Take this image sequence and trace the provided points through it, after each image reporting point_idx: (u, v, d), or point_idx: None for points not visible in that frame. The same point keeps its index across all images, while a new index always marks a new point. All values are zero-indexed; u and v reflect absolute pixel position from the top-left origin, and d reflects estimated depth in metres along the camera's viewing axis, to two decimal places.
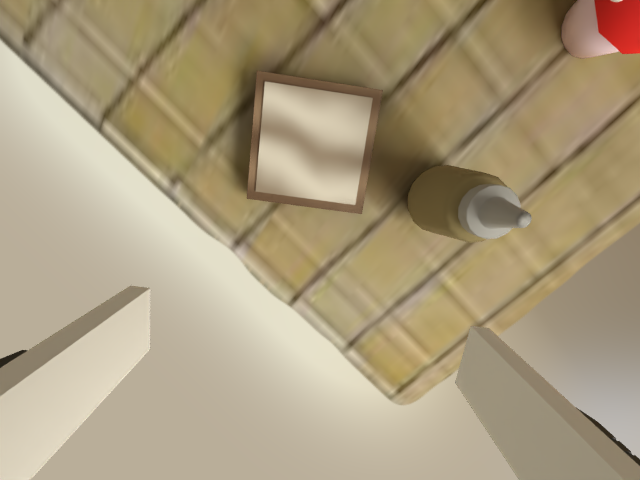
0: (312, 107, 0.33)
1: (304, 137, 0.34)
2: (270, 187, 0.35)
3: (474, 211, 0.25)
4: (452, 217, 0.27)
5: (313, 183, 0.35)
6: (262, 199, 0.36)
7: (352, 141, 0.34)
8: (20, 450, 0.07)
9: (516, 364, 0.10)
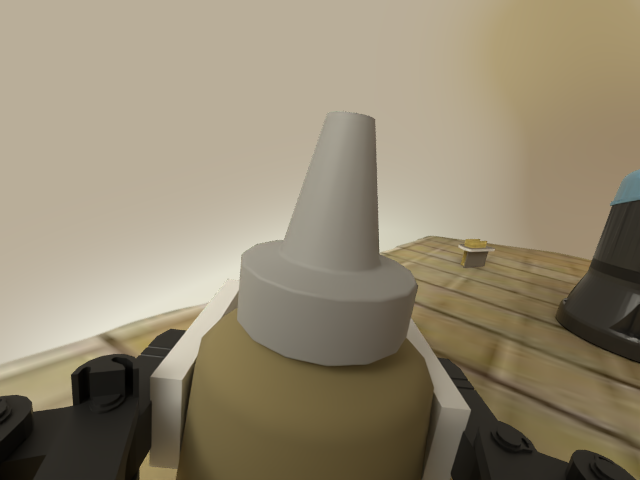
0: None
1: None
2: None
3: None
4: None
5: None
6: None
7: None
8: None
9: None
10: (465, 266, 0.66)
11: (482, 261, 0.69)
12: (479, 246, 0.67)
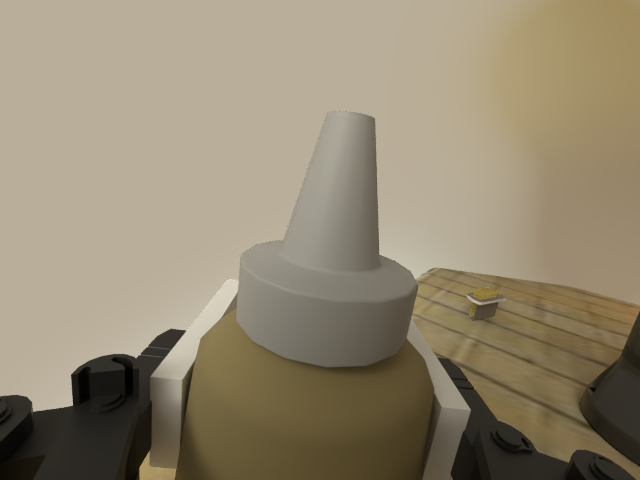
0: None
1: None
2: None
3: None
4: None
5: None
6: None
7: None
8: None
9: None
10: (474, 319, 0.61)
11: (492, 311, 0.64)
12: (489, 296, 0.61)
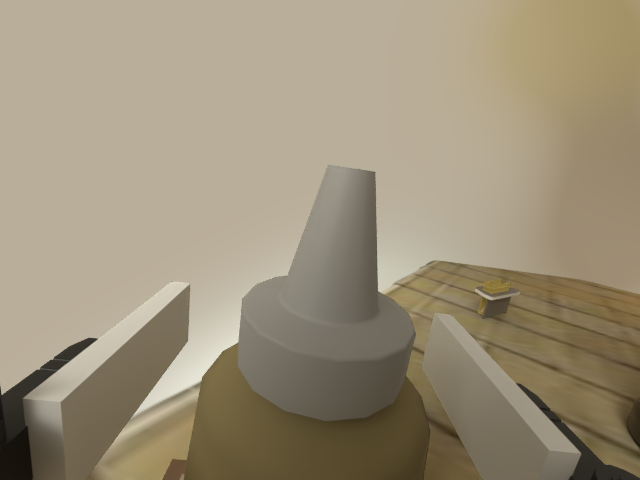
0: None
1: None
2: None
3: None
4: None
5: None
6: None
7: None
8: (101, 423, 0.08)
9: (468, 345, 0.11)
10: (484, 316, 0.52)
11: (504, 307, 0.55)
12: (501, 290, 0.53)
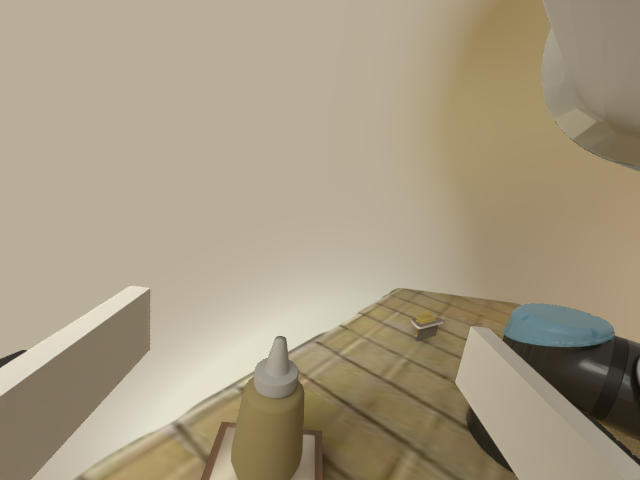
0: (299, 474, 0.36)
1: None
2: (229, 438, 0.39)
3: None
4: None
5: (226, 477, 0.34)
6: (218, 433, 0.40)
7: None
8: (20, 450, 0.07)
9: (516, 364, 0.10)
10: (417, 339, 0.76)
11: (433, 332, 0.79)
12: (429, 321, 0.77)
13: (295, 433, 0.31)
